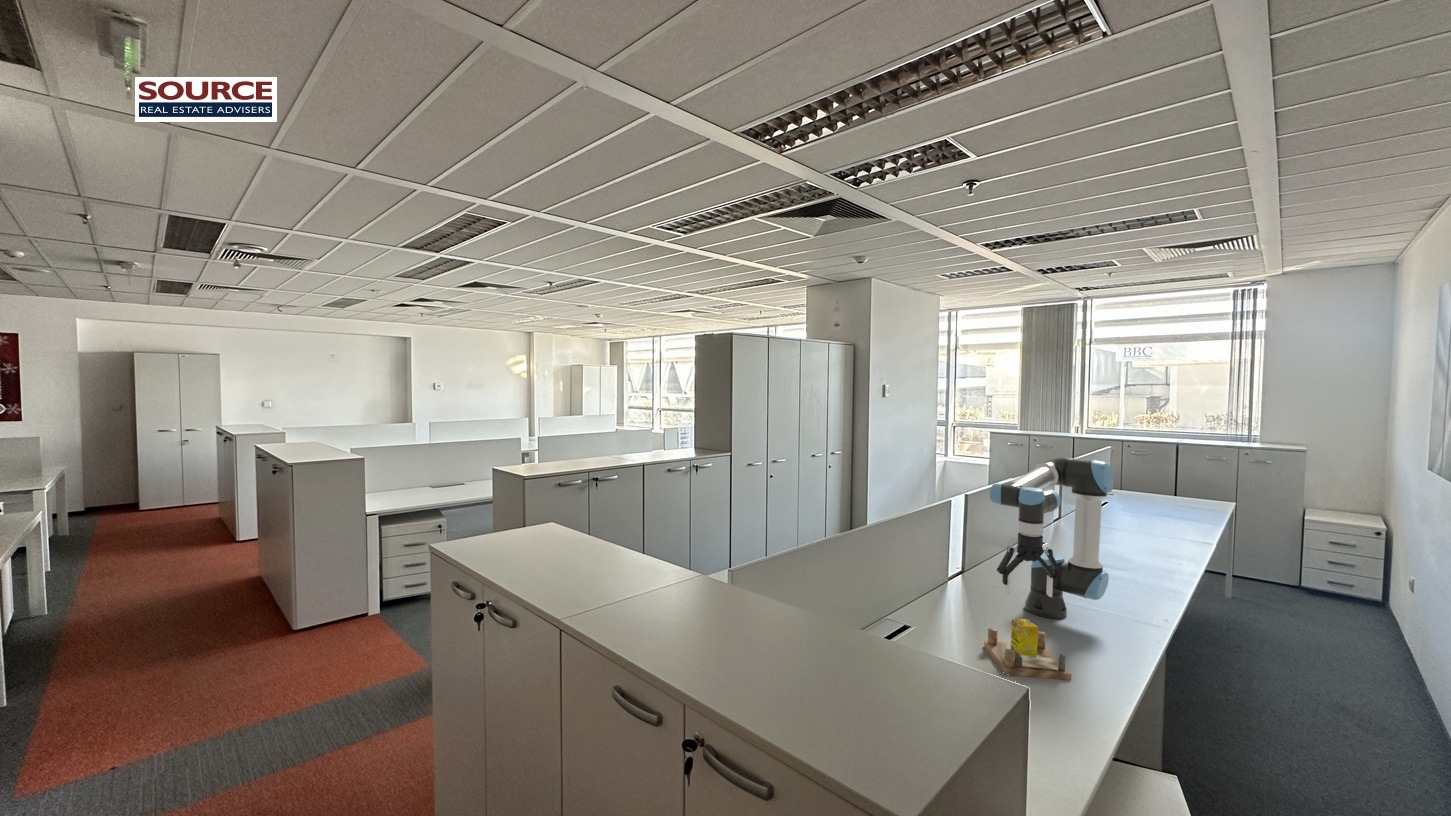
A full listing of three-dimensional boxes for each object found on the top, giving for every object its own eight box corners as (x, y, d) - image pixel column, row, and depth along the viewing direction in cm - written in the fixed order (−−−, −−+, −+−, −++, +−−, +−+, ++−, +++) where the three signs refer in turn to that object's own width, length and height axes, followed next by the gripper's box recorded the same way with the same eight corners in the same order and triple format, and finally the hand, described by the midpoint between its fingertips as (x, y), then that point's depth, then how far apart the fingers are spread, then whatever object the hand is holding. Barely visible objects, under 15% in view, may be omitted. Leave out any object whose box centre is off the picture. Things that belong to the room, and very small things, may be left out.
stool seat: (1043, 650, 199) (1044, 630, 199) (1071, 679, 179) (1072, 658, 179) (984, 646, 202) (985, 627, 201) (1004, 674, 182) (1005, 653, 181)
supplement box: (1010, 649, 194) (1011, 618, 194) (1027, 649, 195) (1028, 618, 194) (1019, 658, 188) (1020, 626, 188) (1037, 658, 189) (1038, 626, 188)
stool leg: (1055, 666, 183) (1055, 658, 183) (1058, 670, 180) (1058, 662, 180) (1012, 661, 185) (1013, 654, 185) (1015, 665, 183) (1015, 657, 183)
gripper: (1063, 531, 194) (1061, 592, 195) (988, 529, 197) (986, 588, 198) (1074, 538, 187) (1072, 600, 188) (995, 535, 190) (994, 597, 191)
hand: (1028, 594), depth 193 cm, fingers open, 13 cm apart
